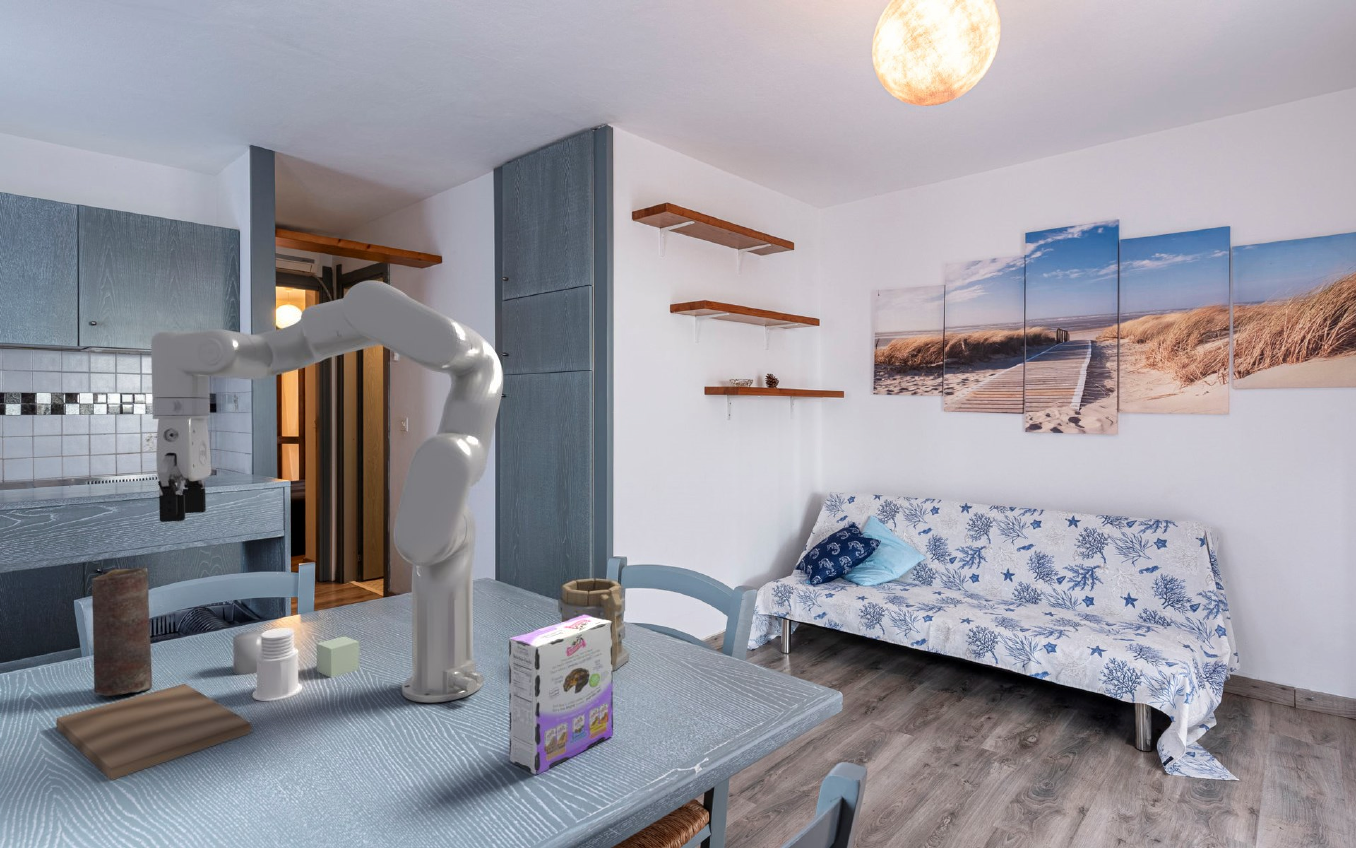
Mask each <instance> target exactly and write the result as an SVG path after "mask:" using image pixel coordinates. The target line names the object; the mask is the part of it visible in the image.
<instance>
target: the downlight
mask: <svg viewBox="0 0 1356 848" xmlns="http://www.w3.org/2000/svg"><path fill="white" fill-rule="evenodd" d="M263 632H264V633H262V635H261V637H262V638H261V641H262V642H261V644H262V645H261V648H262V649H261V653H259V654H258V655H257V672H256V689H255V690H254V691H253V693H252V698H253V699H254V700H257V701H260V702H275V701H280V700H285V699H288V698H292V697H294V696H296V695H298V694H299V693H301V691H302V690H303V685H302V684H301V683H299V650H298V648H295V629H293V628H291V627H290V628H289V627H278V628H273V629H269V630H266V631H263Z"/></svg>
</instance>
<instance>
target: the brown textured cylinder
mask: <svg viewBox="0 0 1356 848" xmlns="http://www.w3.org/2000/svg"><path fill="white" fill-rule="evenodd" d="M91 592H92V595H91V597H92V602H91V603H92V635H93V636H92V637H93V638H92V641H93V642H92V643H93V690H94V691H93V692H94V694H98V695H101V696H114V697H115V696H119V695H124V694H125V695H126V694H130V693H140V692H143V691H148V690H151V689H152V687H153V678H152V677H153V672H152V670H153V669H152V652H151V651H152V650H151V646H152V645H151V631H150V629H151V628H150V603H149V602H150V601H149V597H150V596H149V572H148V568H147V567H145V568H143V567H142V568H141V567H138V568H137V567H136V568H131V569H129V568H124V569H123V568H122V569H113V570H109V571H108V572H107V573H105V574H101V575H99V576H96V577H93V578H92V579H91Z"/></svg>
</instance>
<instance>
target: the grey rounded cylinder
mask: <svg viewBox="0 0 1356 848" xmlns="http://www.w3.org/2000/svg"><path fill="white" fill-rule="evenodd" d="M264 632H265V631H263V630H261V631H260V630H257V631H256V630H255V631H248V632H242V633H239V634H236V635H234V636H233V637H232V638H233V639H232V647H233V650H232V651H233V652H232V653H233V658H232V659H233V662H232V663H233V674H235V675H240V676H241V675H250V674H251V675H252V674H257V655H258V654H259V653H261V649H262V648H261V645H262V644H261V642H262V641H261V638H262V637H261V635H262V633H264Z"/></svg>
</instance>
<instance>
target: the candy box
mask: <svg viewBox="0 0 1356 848" xmlns="http://www.w3.org/2000/svg"><path fill="white" fill-rule="evenodd" d="M508 642H509V643H508V645H509V647H508V649H509V651H508V653H509V654H508V655H509V658H508V659H509V660H508V661H509V663H508V664H509V666H508V667H509V669H508V672H509V688H508V689H509V691H508V692H509V699H508V700H509V714H508V715H509V762H511V763H513V764H515V765H516V766H518V767H520V768H523V769H524V770H525V771H528V772H529V773H530V774H533V775H536V776H537V775H539V774H541V773H543V772H546V771H548V770H550V769H551V768H553V767H554V766H557V765H559V764H562V763H563V762H564V761H566V760H568V759H571V758H572V757H575V756H576V755H579V754H580V753H583V752H584V751H586V750H587V749H590V748H592V747H594V746H596V745H597V744H600V743H601V742H604V741H605V740H607V739H608V738H611V737H612V736H614V706H613V705H614V703H613V700H614V698H613V685H614V684H613V683H614V682H613V671H612V621H608V620H604V619H601V618H596V617H592V616H588V615H582V616H579V617H576V618H573V619H570V620H567V621H564V622H562V621H561V622H558V623H555V624H552V625H548V626H546V627H542V628H539V629H536V630H532V631H528V632H526V633H523V634H520V635H516V636H514V637H510V638H509V639H508Z"/></svg>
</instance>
